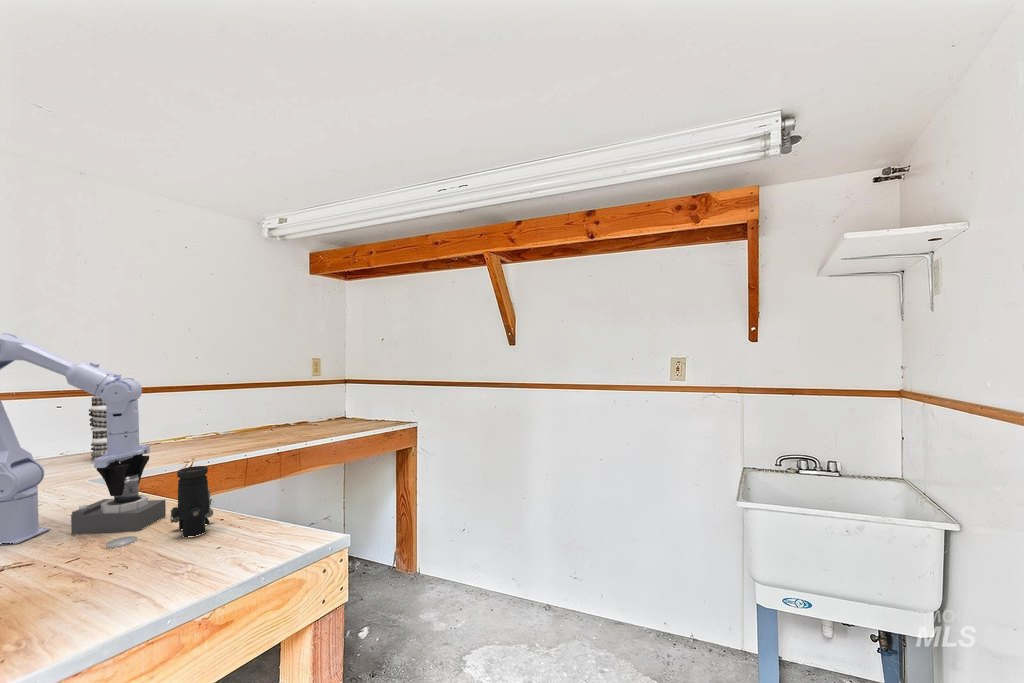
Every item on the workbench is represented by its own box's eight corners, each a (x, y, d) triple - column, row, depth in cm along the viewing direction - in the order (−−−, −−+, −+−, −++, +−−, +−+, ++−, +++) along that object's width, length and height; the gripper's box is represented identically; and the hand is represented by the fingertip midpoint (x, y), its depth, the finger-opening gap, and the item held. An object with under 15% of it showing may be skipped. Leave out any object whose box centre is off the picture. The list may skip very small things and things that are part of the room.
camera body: (71, 534, 106) (70, 508, 106) (103, 519, 115) (103, 495, 115) (139, 531, 106) (138, 505, 107) (165, 516, 115) (165, 492, 116)
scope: (211, 460, 111) (218, 468, 104) (212, 521, 111) (219, 534, 103) (167, 467, 106) (171, 476, 98) (169, 531, 106) (173, 544, 98)
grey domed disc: (99, 550, 97) (99, 546, 97) (118, 540, 102) (118, 536, 102) (125, 549, 98) (125, 545, 98) (143, 539, 103) (143, 535, 103)
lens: (127, 503, 108) (126, 478, 108) (108, 503, 109) (107, 478, 109) (144, 497, 113) (143, 473, 113) (125, 497, 113) (125, 473, 113)
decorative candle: (87, 462, 177) (85, 393, 178) (119, 457, 184) (117, 390, 185) (92, 465, 172) (90, 394, 172) (125, 460, 179) (123, 391, 179)
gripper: (117, 437, 104) (119, 501, 104) (162, 426, 118) (163, 482, 118) (82, 438, 103) (84, 503, 103) (131, 427, 118) (133, 483, 118)
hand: (124, 492), depth 111 cm, fingers closed on lens, 4 cm apart
